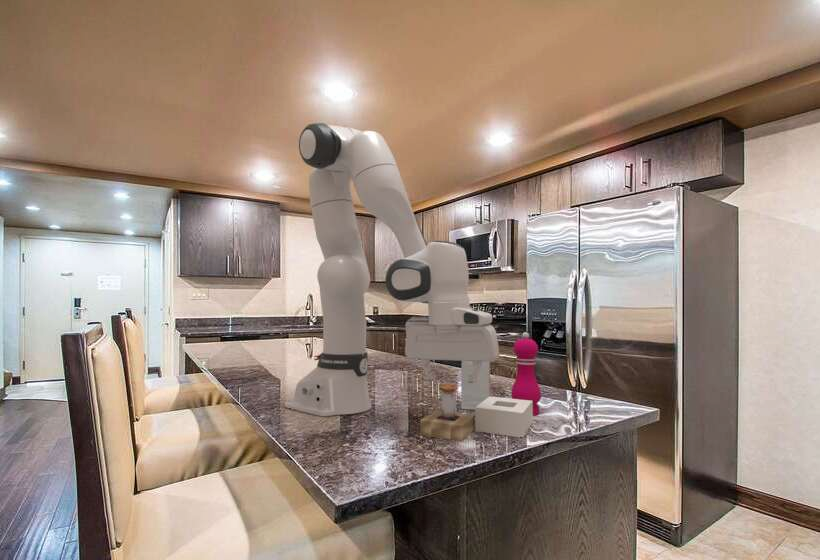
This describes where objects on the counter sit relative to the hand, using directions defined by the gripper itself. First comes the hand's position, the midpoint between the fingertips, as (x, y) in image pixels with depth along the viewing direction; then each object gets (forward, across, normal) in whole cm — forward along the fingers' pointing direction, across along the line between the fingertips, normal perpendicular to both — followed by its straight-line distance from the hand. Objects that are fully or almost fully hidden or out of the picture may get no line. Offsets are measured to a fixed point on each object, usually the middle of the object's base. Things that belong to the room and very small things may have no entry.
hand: (451, 381), depth 90 cm
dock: (+11, +9, +9) cm, 17 cm away
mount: (+11, -1, 0) cm, 11 cm away
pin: (+11, -1, 0) cm, 11 cm away
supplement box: (+11, -2, +24) cm, 26 cm away
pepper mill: (+12, +11, +24) cm, 29 cm away
